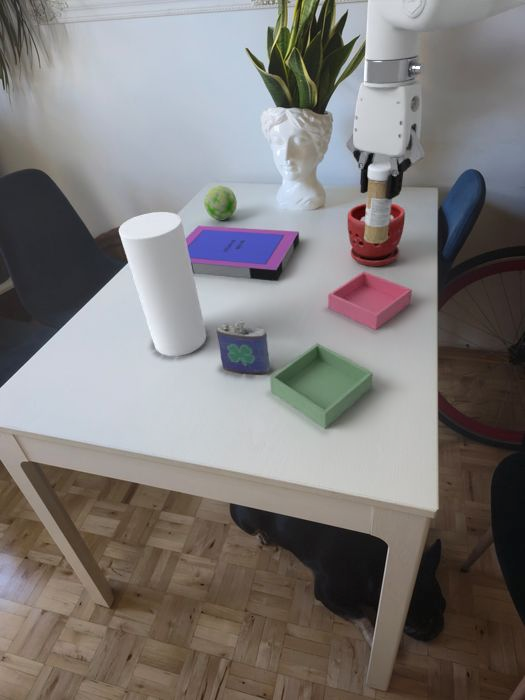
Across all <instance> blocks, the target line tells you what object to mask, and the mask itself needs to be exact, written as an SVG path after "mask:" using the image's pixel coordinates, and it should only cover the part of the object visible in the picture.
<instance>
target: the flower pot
mask: <svg viewBox="0 0 525 700" xmlns="http://www.w3.org/2000/svg"><path fill="white" fill-rule="evenodd" d="M365 215H366V203H362V204H359V205H356V206H354V207H352V208H351V209H350V210H349V211H348V212H347V233H348V237H349V238H348V239H349V243H350V246H351V250H350V256H351V258H352V259H353V260H354V261H355V262H357V263H358V264H361V265H365V266H369V267H378V266H384V265H387V264H390V263H392V262H394V261H395V260H396V259H397V258H398V256H399V254H400V249H399V247H398V245H399V244H400V242H401V239H402V235H403V233H404V227H405V219H406V216H405V215H406V211H405V209H404V207H402V206H400V205H398V204H394V203H391V212H390V216H391V217H392V219H391V218H390V222H389V227H388V240H387V241H385V242H383V243H369V242H367V241H365V240H364V234H365V220H362V219H363V218H365Z"/></svg>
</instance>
